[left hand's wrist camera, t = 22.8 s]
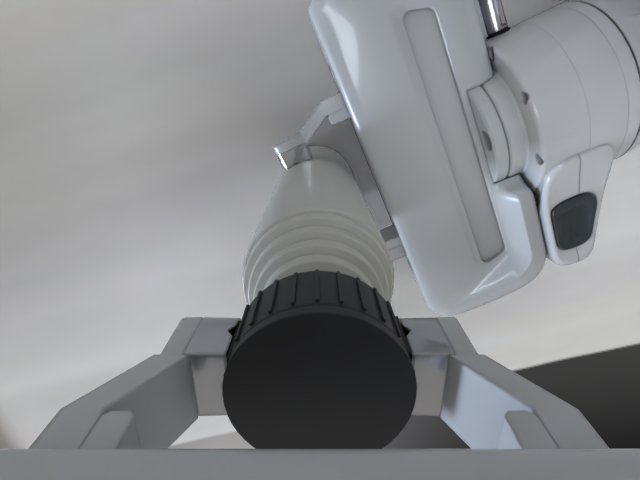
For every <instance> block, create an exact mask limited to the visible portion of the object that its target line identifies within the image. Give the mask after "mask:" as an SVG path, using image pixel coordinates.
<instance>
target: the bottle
mask: <svg viewBox="0 0 640 480" xmlns="http://www.w3.org/2000/svg"><path fill="white" fill-rule="evenodd" d="M309 148H310V150H311V153H312V158H311V159H309V160H307V161H305V162H302V163H296V164H295V166H293V167H291V168H290V169H287V170H284V168H283V170H282V173H281V175H280V177H279V180H278V182H277V184H276V186H275V189H274V191H273V193H272V196H271V198H270V200H269V203H268V205H267V207H266V210H265V212H264V214H263V216H262V219H261V221H260V223H259V226H258V228H257V230H256V233H255V235H254V237H253V240H252V242H251V244H250V246H249V249H248V251H247V253H246V256H245V259H244V263H243V270H242V284H243V292H244V298H245V301H246V304H248V305H250V304H251V302H252V301H253V300H254V299H255V298H256V297H257V295H258V292H259V291H260V290H261V291H263V290H264V289H266V288H267V287H268V286H270V285H271V284H273V283H274V281H275V280H277V279H278V280H280V279H282V278H284V277H288V276H290V275H294V273H295V272H297V273H302V272H309V271H315V270H316V269H318V270H319V271H330V272H337V271H340V273H341V274H345V275H348V276H352V277H354V278H357V277H358V278H360V281H362V282H364V283H366V284H367V285H369V286H370V287H372V288H374V287H375V288H376V289H377V291H378V293H379V294H380V295H381V296H382V297H383V298H384V299H385V300H386V301H389V302H391V298H392V294H393V283H394V268H393V262H392V259H391V256H390V253H389V250H388V248H387V246H386V244H385V242H384V240H383V237H382V235H381V233H380V231H379V229H378V227H377V225H376V223H375V220H374V218H373V216H372V214H371V212H370V210H369V208H368V205H367V203H366V201H365V199H364V197H363V195H362V193H361V190H360V188H359V186H358V184H357V182H356V180H355V178H354V176H353V173H352V171H351V169H350V167H349V165H348V163H347V162H346V160H345V159H344V158H343V157H342V156H341V155H340V154H339V153H338V152H336V151H334V150H332V149H330V148H327V147H323V146H310V147H309Z"/></svg>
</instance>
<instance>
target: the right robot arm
mask: <svg viewBox="0 0 640 480" xmlns="http://www.w3.org/2000/svg"><path fill="white" fill-rule="evenodd" d="M308 13H309V18H310V22H311V24H312V27H313V29H314V32H315V34H316V37H317V39H318V42H319V44H320V47H321V49H322V51H323V54H324V56H325V59H326V61H327V64H328V66H329V69H330V71H331V74H332V76H333V79H334V81H335V83H336V86H337V88H338V91H339V92H338V93H336V94H333V95H331V96H329V97H327V98H325V99H323V100H321V101H320V102H319V104H318V105H317V107H316V108H315V110H314V111H313V113H312V114H311V116H310V117H309V119H308V120H307V121H306V123H305V124H304V126H303V127H302V129H301V131H300V132H299V133H297V134H295V135H293V136H291V137H288V138H286V139H284V140H282V141H280V142H279V143H277V144H275V145H274V146H273V148H274V151H275V153H276V155H277V157H278V159H279V161H280V163H281V165H282V167H283V168H284V170H287V169H290V168H291V167H293V166H295V164H296V163H302V162H305V161H307V160H309V159H311V158H312V153H311V150H310V148H309V146H308V142H309V141H310V139H311V138H312V136H313V135H314V133H315V132H316V131H317V129H318V128H319V126H320V125H321V123H322V122H323V121H324V119H325V118H326V116H328V119H329V121H330V124H331V125H335V124H337V123H339V122H342V121H344V120H346V119H348V118H350V120H351V123H352V125H353V128H354V130H355V133H356V135H357V138H358V140H359V143H360V145H361V148H362V150H363V152H364V155H365V157H366V160H367V162H368V165H369V167H370V170H371V172H372V175H373V177H374V180H375V182H376V185H377V187H378V189H379V192H380V194H381V197H382V199H383V202H384V204H385V207H386V209H387V212H388V214H389V217H390V219H391V222H392V224H393V225H392V226H389V227H387V228H385V229H382V230H380V233H381V235H382V237H383V240H384V242H385V244H386V246H387V248H388V250H389V253H390V256H391V259H392V261H394V260H396V259H399V258H401V257H404V256H406V258H407V261H408V263H409V266H410V268H411V271H412V273H413V276H414V278H415V281H416V283H417V286H418V288H419V290H420V293H421V295H422V297H423V299H424V301H425V303H426V305H427V307H428V309H429V310H430V311H431V312H434V313H438V314H443V315H456V314H459V313H463V312H466V311H468V310H471V309H474V308H477V307H479V306H482V305H484V304H487V303H489V302H491V301H494V300H496V299H498V298H501V297H503V296H505V295H507V294H509V293H512V292H514V291H516V290H518V289H520V288H521V287H523V286H525V285H526V284H528V283H529V282H531V281H532V280H533V279H534V278H535V277H536V276H537V275H538V274H539V273H540V272H541V270H542V268H543V266H544V264H545V260H546V258H548V259H549V260H551V261H553V262H555V263H556V264H558V265H570V264H573V263H576V262H579V261H581V260H583V259H585V258H586V257H588V256H589V255H590V253H591V251H592V249H593V246H594V242H595V236H596V229H597V223H598V217H599V212H600V207H601V202H602V198H603V193H604V189H605V186H606V182H607V179H608V176H609V173H610V169H611V166H612V162H613V160H614V159H617V158H619V157H621V156H623V155H624V154H626V153H627V152H629V151H630V150H632V149H633V148H635V147H636V146H638V145H639V144H640V0H568V1H566V2H564V3H561V4H559V5H558V6H555V7H553V8H551V9H549V10H547V11H545V12H543V13H541V14H538V15H536V16H534V17H532V18H530V19H528V20H526V21H524V22H522V23H519V24H517V25H515V26H513V27H511V28H510V27H509V28H508V25H507V21H506V17H505V13H504V9H503V5H502V1H501V0H311V2H310V5H309V10H308ZM486 37H487V39H486V40H484V38H486Z"/></svg>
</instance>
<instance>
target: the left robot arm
mask: <svg viewBox="0 0 640 480" xmlns="http://www.w3.org/2000/svg"><path fill="white" fill-rule="evenodd" d="M239 320H241V318H213V317H204V318H203V317H185V318H183V319H182V320H181V321H180V323H179V324H178V326H177V328H176V329H175V331H174V333H173V334H172V336H171V338H170V339H169V341H168V343H167V344H166V346H165V348H164V349H163V351H162V353H161V354H160V355H153V356H151V357H150V358H148V359H146V360H144V361H143V362H141V363H139V364H138V365H136V366H134V367H132V368H131V369H129V370H127V371H125V372H124V373H122V374H120V375H119V376H117V377H115V378H113V379H112V380H110V381H108V382H106V383H105V384H103V385H101V386H100V387H98V388H96V389H94V390H93V391H91V392H89V393H87V394H86V395H84V396H82V397H81V398H79V399H77V400H75V401H74V402H72V403H70V404H68V405H67V406H65V407H63V408H62V409H60V410H59V412H58V413H57V414H56V415H55V417H54V418H53V419H52V420H51V422H50V423H49V424H48V425H47V427H46V428H45V429H44V430H43V431H42V433H41V434H40V435H39V436H38V438H37V439H36V440H35V441H34V443H33V444H32V445H31V446H30V447H29V449H0V480H640V449H609V447H608V446H607V445H606V444H605V442H604V441H603V440H602V439H601V437H600V436H599V435H598V434H597V432H596V431H595V430H594V429H593V428H592V426H591V425H590V424H589V422H588V421H587V420H586V419H585V417H584V416H583V415H582V414H581V412H580V411H579V410H578V409H576V408H575V407H573V406H571V405H569V404H568V403H566V402H564V401H563V400H561V399H559V398H557V397H556V396H554V395H552V394H551V393H549V392H547V391H545V390H544V389H542V388H540V387H539V386H537V385H535V384H533V383H532V382H530V381H528V380H527V379H525V378H523V377H521V376H520V375H518V374H516V373H515V372H513V371H511V370H509V369H508V368H506V367H504V366H503V365H501V364H499V363H497V362H496V361H494V360H492V359H491V358H489V357H487V356H485V355H478V353H477V352H476V350H475V348H474V347H473V345H472V343H471V342H470V340H469V338H468V337H467V335H466V333H465V332H464V330H463V328H462V327H461V325H460V324H459V322H458V320H457V319H456V318H455V317H438V318H405V319H399V321H400V324H401V327H402V329H403V332H404V335H405V338H406V340H407V343H408V346H409V348H410V351H411V354H410V355H409V356H410V360H411V362H412V365H413V368H414V370H415V375H416V382H417V395H416V401H415V406H414V409H413V412H412V414H411V415H428V416H441V418H442V419H443V420H444V421H445V422H446V423H447V424H448V425H449V426H450V427H451V429H453V431H455V433H456V434H457V435H459V437H460V438H461V439H462V440H463V441H464V442H465V443H466V444H467V445H468V446H469V447H470V448H471V449H167V448H168V447H169V446H170V445H171V444H172V443H173V442H174V441H175V440H176V439H177V438H178V437H179V436H180V435H181V434H182V433H183V432H184V431H185V430H186V429H187V428H188V427H189V426H190V425H191V424H192V423H193V422H194V421H195V420H196V419H197V418H198V416H210V415H227V412H226V409H225V406H224V402H223V395H222V383H223V378H224V373H225V370H226V367H227V364H228V361H229V360H228V359H226V358H227V355H228V352H229V349H230V346H231V343H232V340H233V337H234V334H235V331H236V328H237V325H238V322H239Z"/></svg>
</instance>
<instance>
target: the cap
mask: <svg viewBox="0 0 640 480" xmlns="http://www.w3.org/2000/svg"><path fill="white" fill-rule="evenodd" d="M410 354H411V351H410V348H409V346H408V343H407V340H406V338H405V335H404V332H403V329H402V327H401V324H400V321H399V319H398V316H396V317H395V315H394V313H393V310H392V307H391V304H390V302H389V301H386V300H385V299H384V298H383V297H382V296H381V295H380V294H379V293H378V291H377V289H376V288H375V287H374V288H372V287H370V286H369V285H367V284H366V283H364V282H362V281H360V278H358V277H357V278H354V277H352V276H348V275H345V274H341V273H340V271H337V272H330V271H319V270H318V269H316V270H315V271H309V272H302V273H297V272H295V273H294V275H290V276H288V277H284V278H282V279H280V280H278V279H277V280H275V281H274V283H273V284H271V285H270V286H268V287H267V288H266V289H264V290H263V291H261V290H260V291H259V292H258V295H257V297H256V298H255V299H254V300H253V301H252V302H251V304H250V305H248V304H247V306H246V308H245V311H244V314H243V317H242V320H239V322H238V325H237V328H236V331H235V334H234V337H233V340H232V343H231V346H230V349H229V352H228V355H227V358H226V359H228V360H229V361H228V364H227V367H226V370H225V373H224V378H223V383H222V395H223V402H224V406H225V409H226V412H227V415H228V417H229V419H230V421H231V423H232V425H233V426H234V428H235V429H236V430H237V432H238V433H239V434H240V435H241V436H242V437H243V438H244V439H245V440H246V441H247V442H248V443H249V444H250V445H252V446H253V447H254V448H256V449H382V448H384V447H385V446H386V445H388V444H389V443H390V442H391V441H392V440H393V439H394V438H395V437H397V436H398V434H399V433H400V432H401V431H402V430H403V428H404V427H405V425H406V424H407V422H408V420H409V419H410V416H411V414H412V412H413V409H414V406H415V401H416V395H417V382H416V375H415V370H414V368H413V365H412V362H411V360H410V356H409V355H410Z"/></svg>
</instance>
